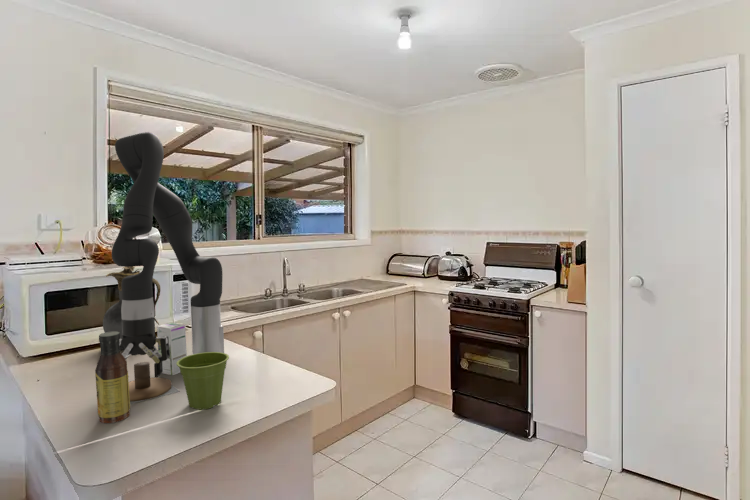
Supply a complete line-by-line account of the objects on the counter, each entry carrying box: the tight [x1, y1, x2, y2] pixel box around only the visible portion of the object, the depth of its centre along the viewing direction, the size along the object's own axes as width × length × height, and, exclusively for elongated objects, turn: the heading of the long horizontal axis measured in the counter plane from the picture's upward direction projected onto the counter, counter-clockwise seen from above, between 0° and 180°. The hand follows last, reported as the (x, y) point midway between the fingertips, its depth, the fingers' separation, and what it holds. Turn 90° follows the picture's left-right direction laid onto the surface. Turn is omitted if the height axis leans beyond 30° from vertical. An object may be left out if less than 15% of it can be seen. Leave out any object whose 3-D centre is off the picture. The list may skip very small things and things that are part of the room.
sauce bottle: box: [94, 331, 131, 424], centre depth 98 cm, size 6×6×20 cm
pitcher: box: [102, 266, 161, 351], centre depth 157 cm, size 11×19×30 cm, turn 132°
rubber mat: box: [130, 383, 180, 405], centre depth 114 cm, size 14×14×1 cm
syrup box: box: [156, 322, 188, 376], centre depth 129 cm, size 6×6×14 cm
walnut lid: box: [129, 361, 172, 402], centre depth 114 cm, size 14×14×7 cm
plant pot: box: [176, 352, 230, 411], centre depth 105 cm, size 12×12×11 cm
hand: (140, 377), depth 113 cm, fingers open, 8 cm apart
